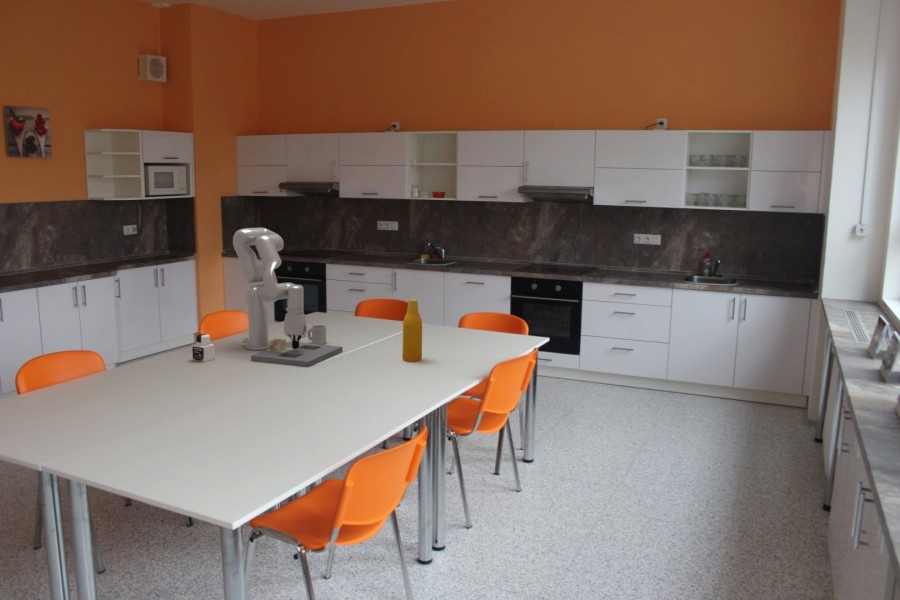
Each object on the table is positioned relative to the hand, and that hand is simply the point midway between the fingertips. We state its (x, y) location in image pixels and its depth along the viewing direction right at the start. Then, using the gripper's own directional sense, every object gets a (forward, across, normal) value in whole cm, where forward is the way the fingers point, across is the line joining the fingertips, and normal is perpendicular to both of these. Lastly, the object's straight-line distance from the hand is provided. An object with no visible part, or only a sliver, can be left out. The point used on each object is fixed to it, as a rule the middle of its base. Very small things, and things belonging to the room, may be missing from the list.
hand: (295, 348), depth 370 cm
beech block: (+1, -9, -1) cm, 9 cm away
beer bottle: (+3, +54, +15) cm, 56 cm away
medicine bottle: (+4, -34, -24) cm, 42 cm away
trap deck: (+4, +1, 0) cm, 4 cm away
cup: (+4, -5, +29) cm, 30 cm away
